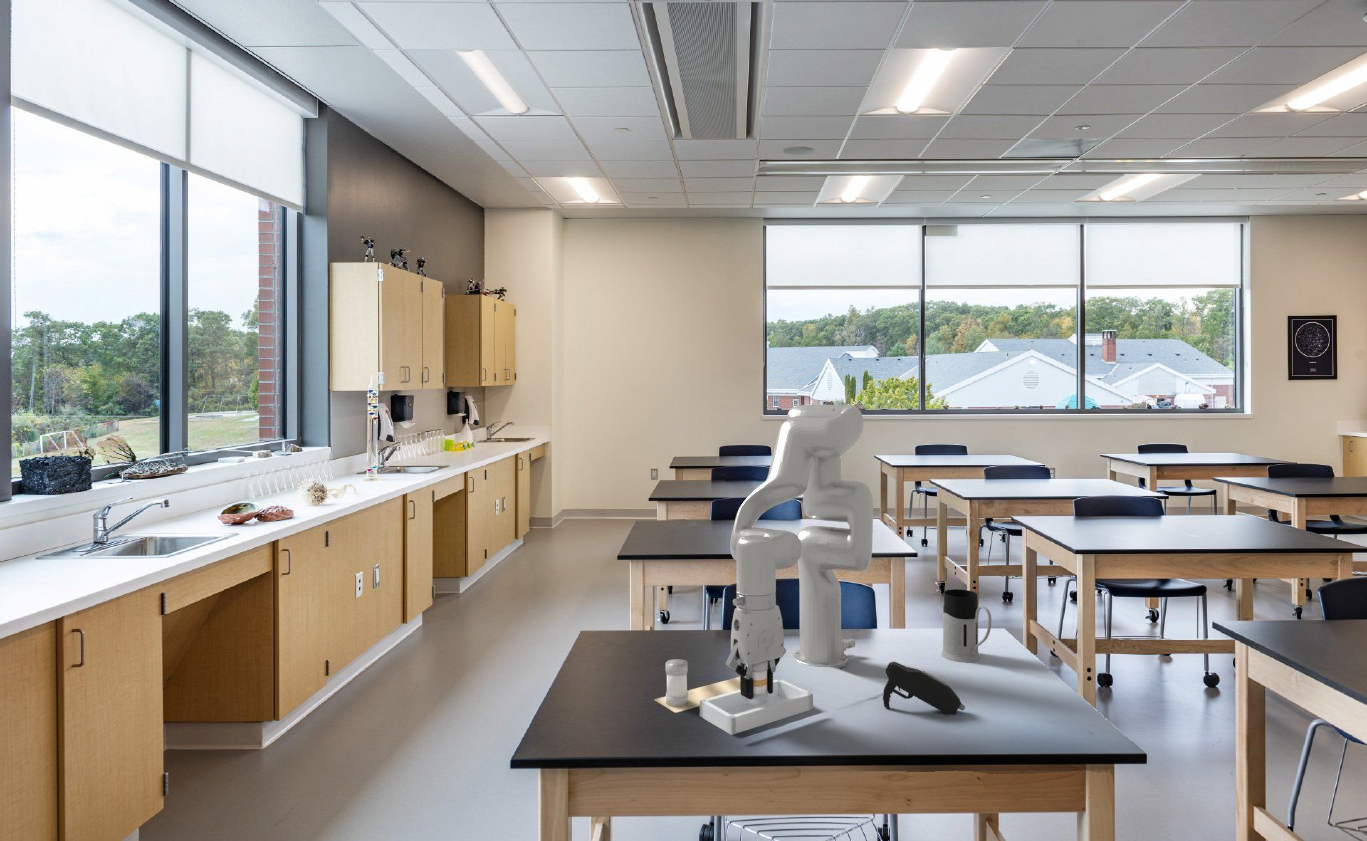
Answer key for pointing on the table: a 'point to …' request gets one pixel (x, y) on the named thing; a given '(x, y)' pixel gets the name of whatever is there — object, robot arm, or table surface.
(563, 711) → the table surface
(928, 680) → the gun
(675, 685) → the fuse
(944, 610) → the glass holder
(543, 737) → the table surface
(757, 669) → the marked fuse
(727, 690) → the board
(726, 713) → the tray
